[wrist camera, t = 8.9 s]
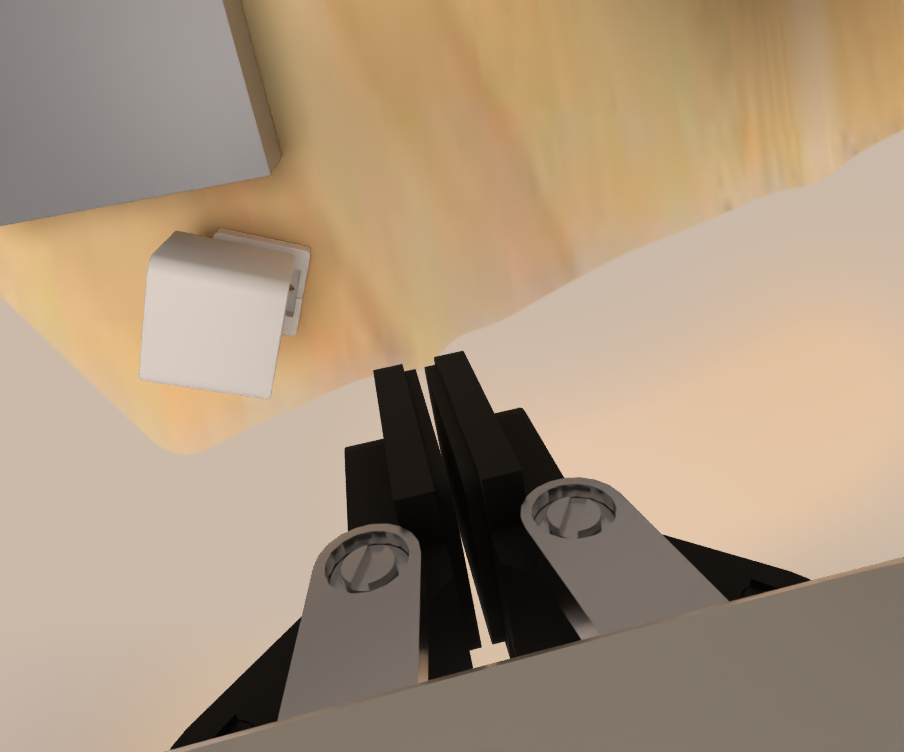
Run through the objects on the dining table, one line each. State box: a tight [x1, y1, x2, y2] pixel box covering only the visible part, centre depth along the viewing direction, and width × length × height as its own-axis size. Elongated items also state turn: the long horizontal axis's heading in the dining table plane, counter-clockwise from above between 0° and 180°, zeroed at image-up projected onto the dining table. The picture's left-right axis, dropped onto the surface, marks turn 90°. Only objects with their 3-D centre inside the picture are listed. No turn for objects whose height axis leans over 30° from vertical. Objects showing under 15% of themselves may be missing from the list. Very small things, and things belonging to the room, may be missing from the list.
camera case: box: [0, 0, 282, 226], centre depth 29 cm, size 15×12×9 cm
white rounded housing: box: [139, 228, 311, 399], centre depth 34 cm, size 6×7×10 cm
